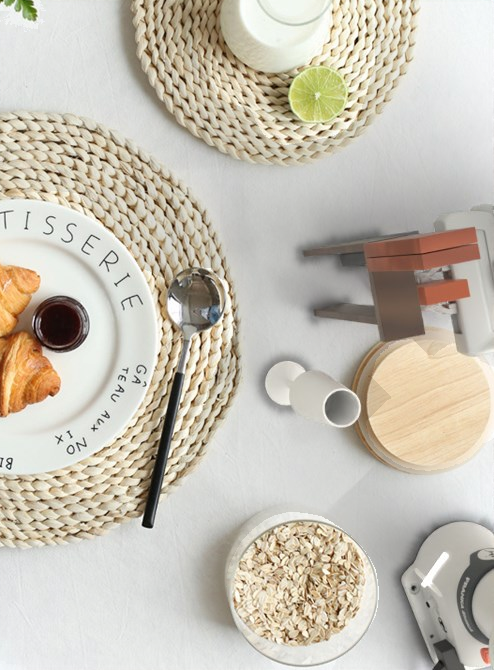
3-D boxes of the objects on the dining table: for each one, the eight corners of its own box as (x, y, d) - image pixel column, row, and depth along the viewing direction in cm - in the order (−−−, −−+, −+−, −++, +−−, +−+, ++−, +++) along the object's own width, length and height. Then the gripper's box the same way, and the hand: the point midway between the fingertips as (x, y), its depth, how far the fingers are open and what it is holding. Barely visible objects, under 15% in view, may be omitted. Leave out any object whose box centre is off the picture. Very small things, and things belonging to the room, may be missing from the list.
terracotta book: (421, 295, 123) (470, 296, 108) (382, 303, 122) (426, 305, 107) (418, 279, 123) (467, 278, 108) (379, 287, 122) (423, 287, 107)
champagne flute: (255, 382, 123) (303, 406, 99) (288, 351, 123) (343, 368, 99) (285, 414, 123) (340, 447, 99) (318, 384, 124) (380, 408, 100)
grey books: (380, 258, 124) (423, 255, 109) (342, 266, 123) (379, 264, 109) (376, 236, 124) (418, 230, 109) (338, 243, 123) (375, 239, 109)
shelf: (424, 332, 99) (496, 343, 83) (376, 342, 99) (439, 354, 82) (406, 234, 99) (475, 225, 82) (358, 243, 99) (417, 236, 82)
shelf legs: (346, 309, 124) (417, 317, 99) (314, 316, 123) (377, 325, 99) (334, 244, 123) (402, 235, 99) (302, 250, 123) (362, 243, 99)
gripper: (511, 198, 112) (413, 217, 111) (538, 346, 112) (441, 366, 112) (487, 203, 118) (394, 221, 117) (513, 343, 119) (421, 362, 118)
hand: (417, 293), depth 114 cm, fingers closed on terracotta book, 2 cm apart
